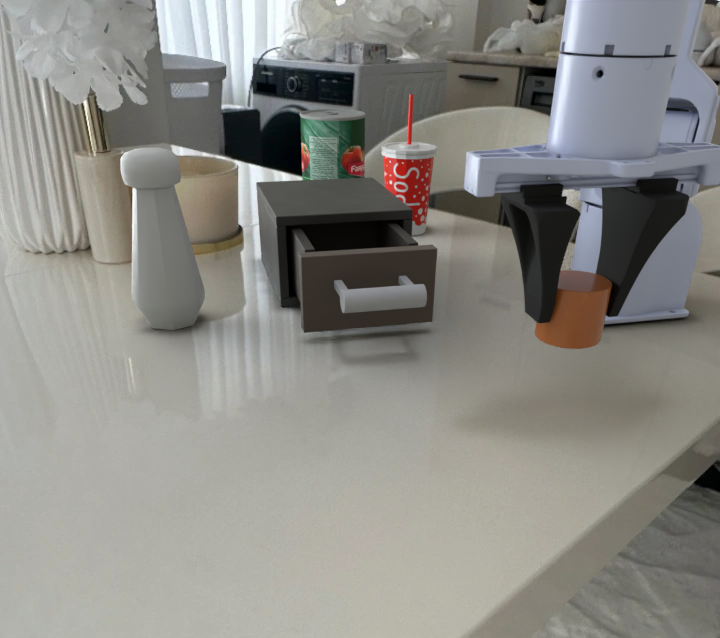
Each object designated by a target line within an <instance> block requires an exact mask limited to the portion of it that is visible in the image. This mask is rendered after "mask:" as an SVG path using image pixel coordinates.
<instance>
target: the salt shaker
mask: <svg viewBox="0 0 720 638" xmlns="http://www.w3.org/2000/svg"><path fill="white" fill-rule="evenodd" d="M180 164H181V163H180V160H179V157H178V155H177V154H176V153H174V151H172V150H169V149H166V148H163V147H140V148H139V147H138V148H134V149H132V150H128V151H126V152H124V153H123V154H122V155H121V157H120V175H121V178H122V182H123V183H124V185H126V186H128V187H130V188H132V194H131V195H132V199H131V200H132V201H131V204H132V206H131V207H132V208H131V214H132V215H131V216H132V218H131V219H132V220H131V299H132V302H133V304H134V306H135V307H136V308H137V310H138V311H139V312H140V314H142V316H143V317H144V319H145V320H146V322H148V324H149V326H150V327H151V328H152V329H155V330H156V329H157V330H168V331H175V330H180V329H183V328H187V327H191V326H194V325H195V323H196V321H197V319H198V317H199V314H200V311H201V308H202V306H203V304H204V301H205V297H206V294H205V293H206V292H205V286H204V283H203V280H202V276H201V272H200V269H199V265H198V261H197V259H196V255H195V251H194V249H193V245H192V241H191V237H190V235H189V231H188V228H187V223H186V221H185V218H184V214H183V210H182V207H181V204H180V200H179V197H178V194H177V190H176V187H175V185H178V184H179V183H181V179H182V172H181V165H180Z"/></svg>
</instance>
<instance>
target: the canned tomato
mask: <svg viewBox="0 0 720 638" xmlns="http://www.w3.org/2000/svg"><path fill="white" fill-rule="evenodd" d="M366 116H367V115H366V113H365V112H364V111H360V110H356V109H347V108H316V109H307V110H303V111H300V112H299V117H300V145H301V146H300V147H301V152H300V153H301V174H302V178H301V179H302V180H321V179H346V178H365V173H366V172H365V169H366V168H365V166H366V165H365V164H366V163H365V162H366V161H365V160H366V155H365V154H366Z"/></svg>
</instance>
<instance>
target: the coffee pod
mask: <svg viewBox="0 0 720 638" xmlns="http://www.w3.org/2000/svg"><path fill="white" fill-rule="evenodd" d="M611 289H612V282H611V281H610V280H609V279H607V278H605V277H603V276H601V275H598V274H595V273H590V272H585V271H575V270H571V269H568V270H561V271H560V275H559V282H558V288H557V295H556V301H555V306H554V310H553V314H552V317H551V319H550V322H549V323H537V322H536V321H535V328H534V336H535V337H536V339H538V340H539V341H540V342H542V343H544V344H546V345H548V346H549V345H550V346H553V347H556V348H559V349H568V350H582V349H590V348H592V347H593V348H594V347H595V346H597V345H599V344H600V343H601V341H602V336H603V332H604V327H605V324H604V323H605V318H606V313H607V308H608V303H609V299H610V294H611Z"/></svg>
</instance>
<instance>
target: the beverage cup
mask: <svg viewBox="0 0 720 638" xmlns="http://www.w3.org/2000/svg"><path fill="white" fill-rule="evenodd" d="M414 98H415V97H414V93H409V94H408V115H407V136H406V141H396V142H395V141H394V142H386V143H383V144H381V147H380V148H381V155H382V156H383V177H384V178H383V179H384V187H385V188H386V189H387V190H389V191H390V192H391V193H392V194H394V195H395V196H396V197H397V198H399V199H400V200H401V201H402V202H404V203H405V204H406V205H407V206H409V207H410V208H411V209H412V210H413V217H412V237H413V236H420V235H423V234H424V233H426V228H427V220H428V219H427V218H428V211H429V202H430V196H431V195H430V194H431V186H432V177H433V169H434V160H435V157H437V151H438V146H437V145H435V144H432V143H427V142H420V141H419V142H418V141H417V142H416V141H412V140H413V117H414Z"/></svg>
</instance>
